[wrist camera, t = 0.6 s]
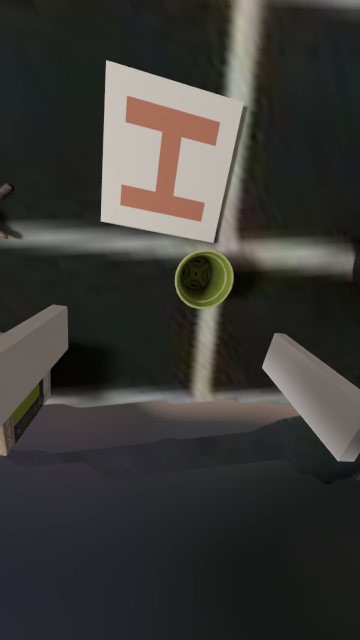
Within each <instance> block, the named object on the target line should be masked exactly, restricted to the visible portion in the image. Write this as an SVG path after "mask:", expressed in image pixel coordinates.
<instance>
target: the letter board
mask: <svg viewBox="0 0 360 640" xmlns="http://www.w3.org/2000/svg"><path fill="white" fill-rule="evenodd" d="M243 104H244V103H243V102H240V101H237V100H234V99H230V98H227V97H224V96H221V95H217V94H214V93H211V92H208V91H204V90H201V89H198V88H195V87H191V86H188V85H185V84H182V83H178V82H175V81H172V80H169V79H165V78H162V77H159V76H156V75H152V74H149V73H146V72H143V71H139V70H136V69H133V68H130V67H127V66H123V65H120V64H117V63H114V62H110V61H107V60H106V84H105V114H104V144H103V174H102V203H101V221H102V222H107V223H112V224H117V225H122V226H128V227H133V228H138V229H143V230H148V231H154V232H159V233H164V234H169V235H174V236H180V237H185V238H190V239H195V240H200V241H206V242H211V243H213V242H214V238H215V233H216V229H217V224H218V219H219V215H220V210H221V206H222V201H223V196H224V192H225V187H226V182H227V178H228V173H229V169H230V164H231V159H232V155H233V150H234V146H235V141H236V136H237V132H238V127H239V122H240V118H241V113H242V109H243Z"/></svg>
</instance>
